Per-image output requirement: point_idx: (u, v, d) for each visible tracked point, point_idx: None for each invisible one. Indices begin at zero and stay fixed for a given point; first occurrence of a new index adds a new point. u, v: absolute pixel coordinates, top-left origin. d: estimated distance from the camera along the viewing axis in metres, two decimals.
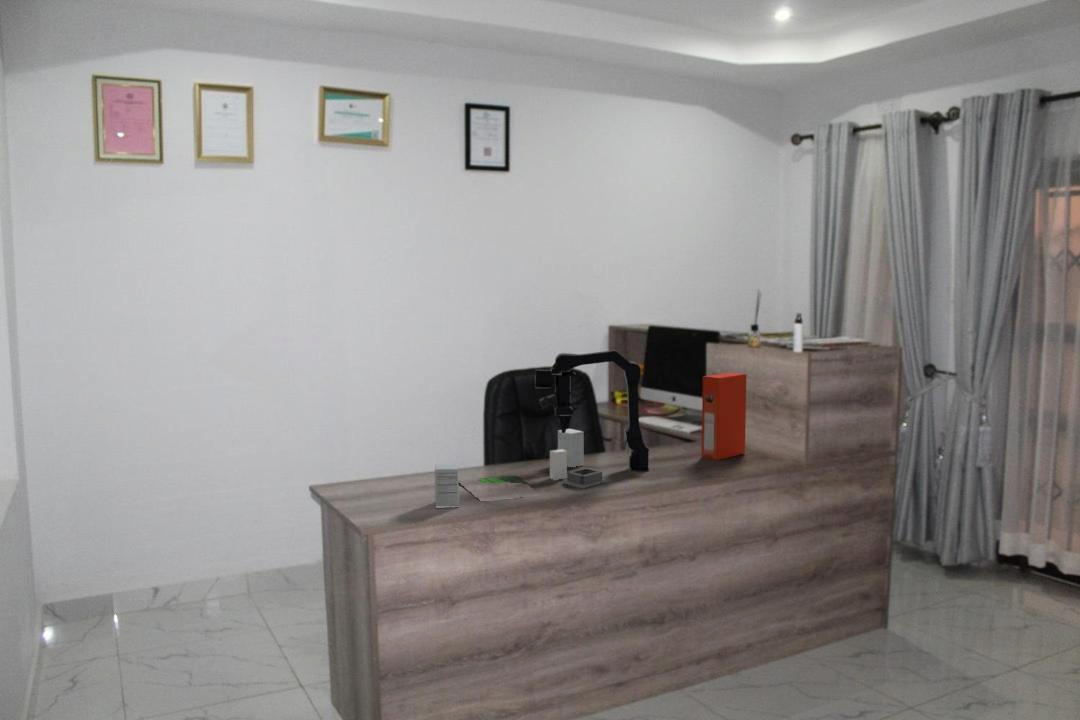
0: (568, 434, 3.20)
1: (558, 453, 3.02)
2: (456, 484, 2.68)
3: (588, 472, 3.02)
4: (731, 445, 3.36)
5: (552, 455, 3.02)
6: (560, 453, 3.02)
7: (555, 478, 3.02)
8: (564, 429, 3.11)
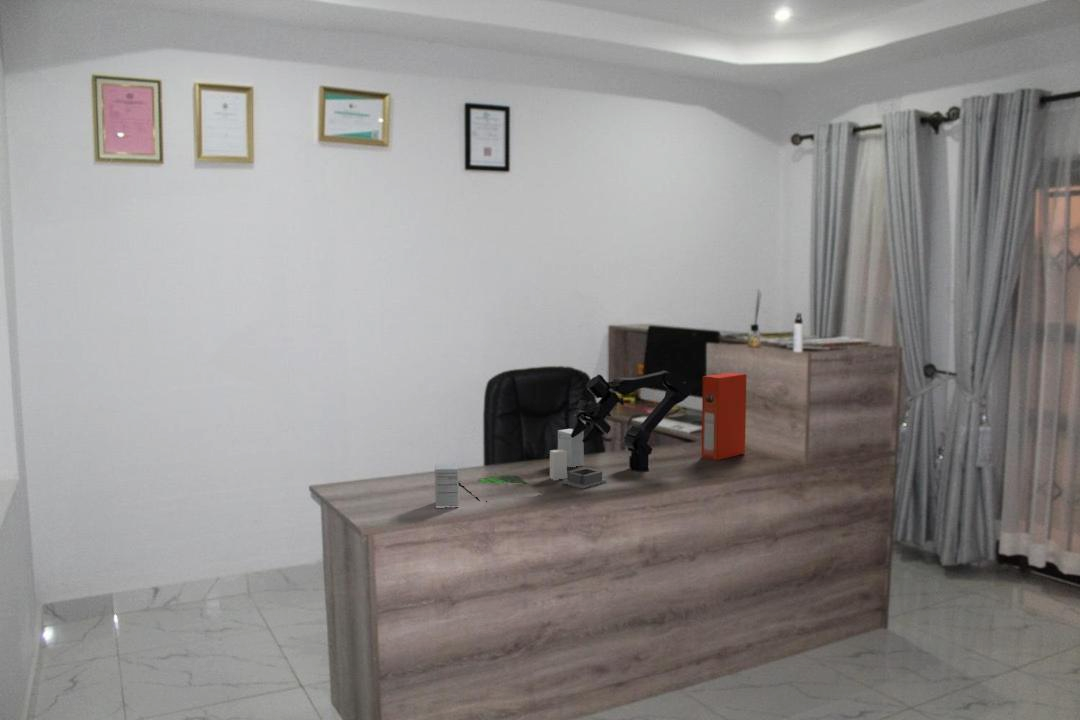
0: (568, 434, 3.20)
1: (558, 453, 3.02)
2: (456, 484, 2.68)
3: (588, 472, 3.02)
4: (731, 445, 3.36)
5: (552, 455, 3.02)
6: (560, 453, 3.02)
7: (555, 478, 3.02)
8: (586, 440, 3.02)
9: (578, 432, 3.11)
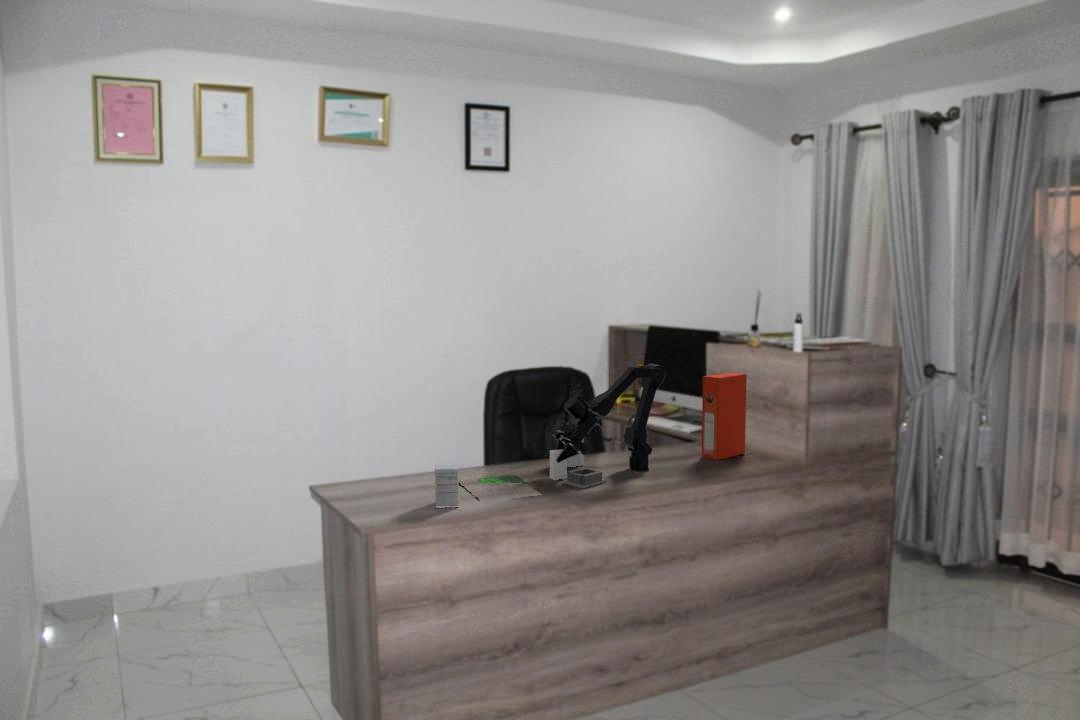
0: None
1: (558, 453, 3.02)
2: (456, 484, 2.68)
3: (588, 472, 3.02)
4: (731, 445, 3.36)
5: (552, 455, 3.02)
6: (560, 453, 3.02)
7: (555, 478, 3.02)
8: (560, 459, 3.01)
9: None
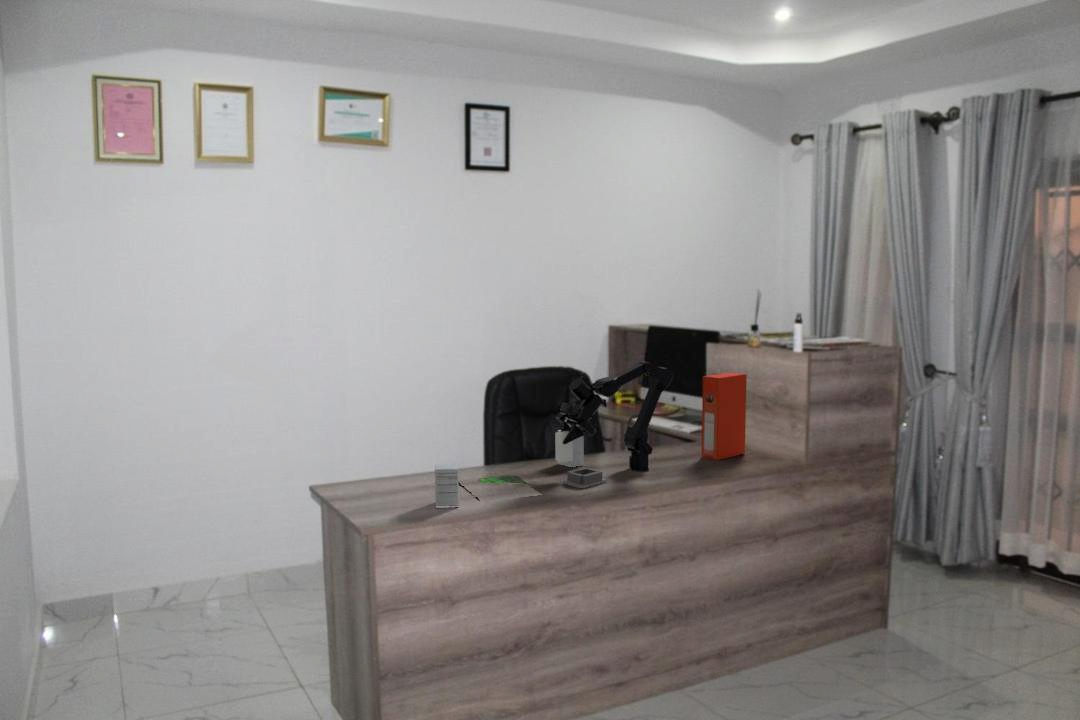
0: None
1: (564, 435, 2.99)
2: (456, 484, 2.68)
3: (588, 472, 3.02)
4: (731, 445, 3.36)
5: (558, 437, 3.00)
6: (566, 435, 3.00)
7: (561, 460, 3.00)
8: (567, 441, 2.99)
9: None
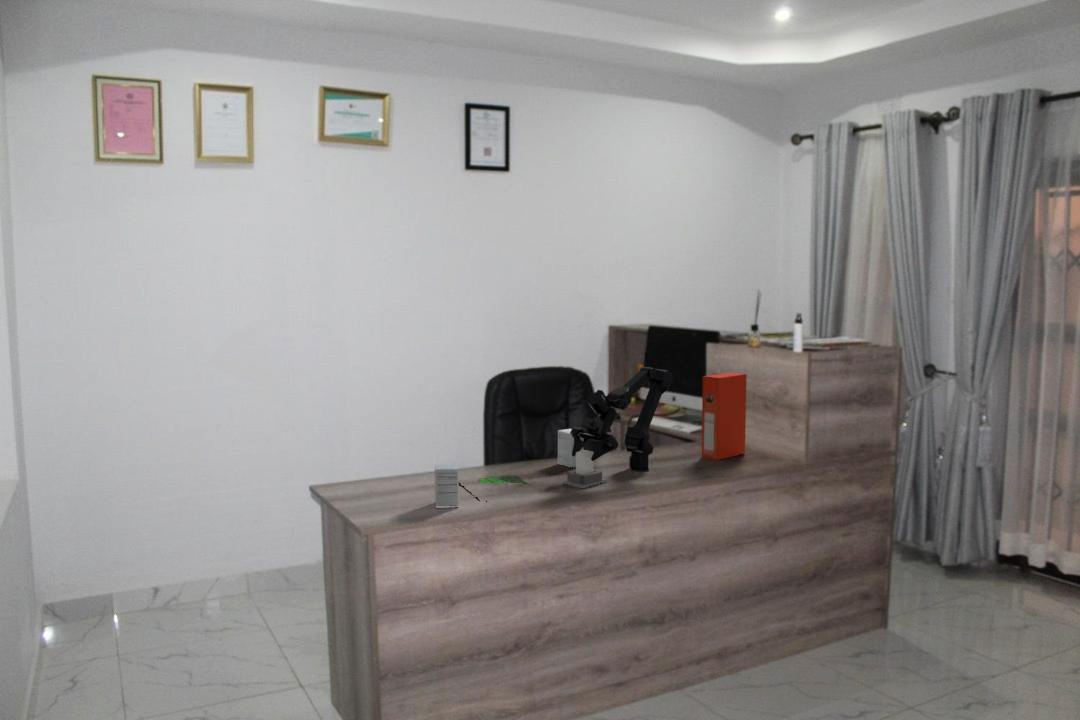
0: (568, 434, 3.20)
1: (586, 454, 2.95)
2: (456, 484, 2.68)
3: None
4: (731, 445, 3.36)
5: (580, 456, 2.95)
6: (588, 454, 2.96)
7: None
8: (595, 458, 2.94)
9: (578, 450, 3.02)
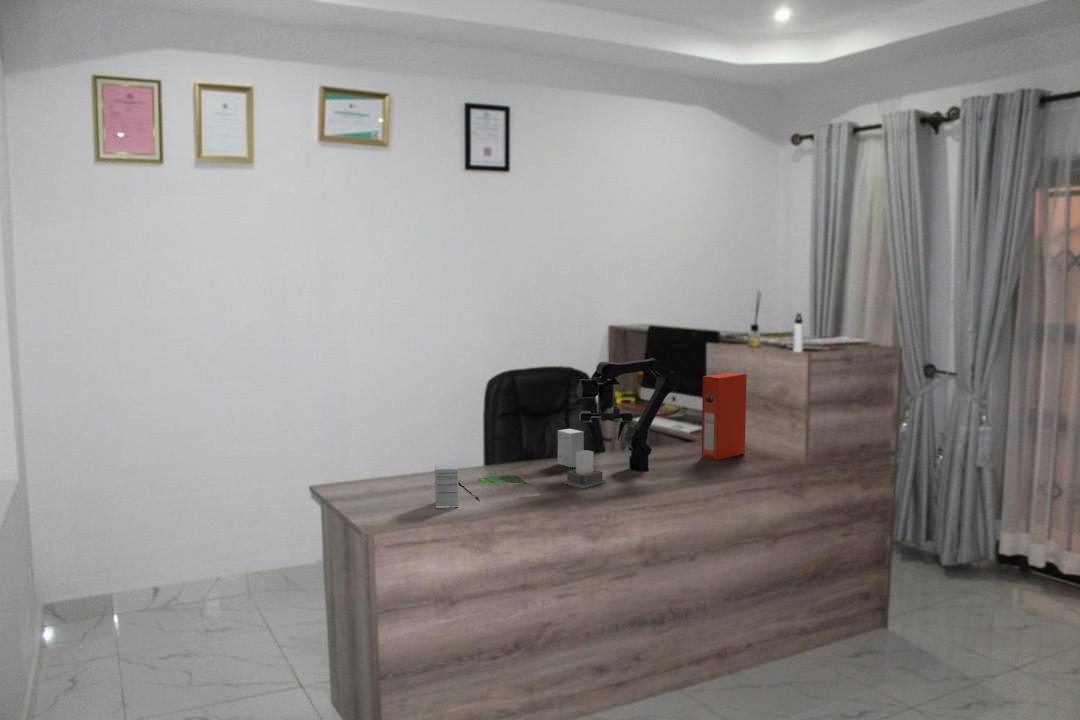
0: (568, 434, 3.20)
1: (586, 454, 2.95)
2: (456, 484, 2.68)
3: None
4: (731, 445, 3.36)
5: (580, 456, 2.95)
6: (588, 454, 2.96)
7: None
8: (619, 435, 3.13)
9: None
